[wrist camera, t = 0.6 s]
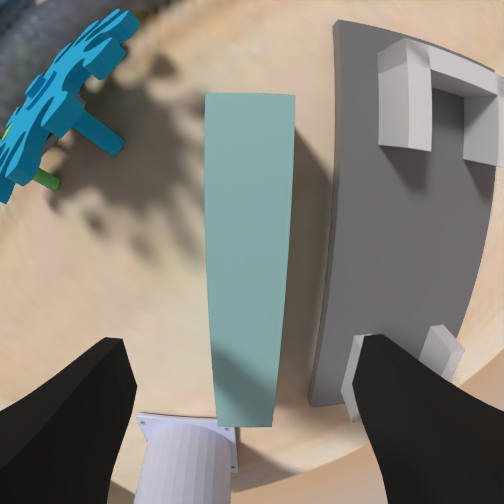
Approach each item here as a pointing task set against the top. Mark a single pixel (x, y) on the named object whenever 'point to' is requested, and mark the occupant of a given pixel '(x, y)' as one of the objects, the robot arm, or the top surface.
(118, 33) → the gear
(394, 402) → the robot arm
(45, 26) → the top surface
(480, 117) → the cradle
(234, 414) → the teal rectangular block
